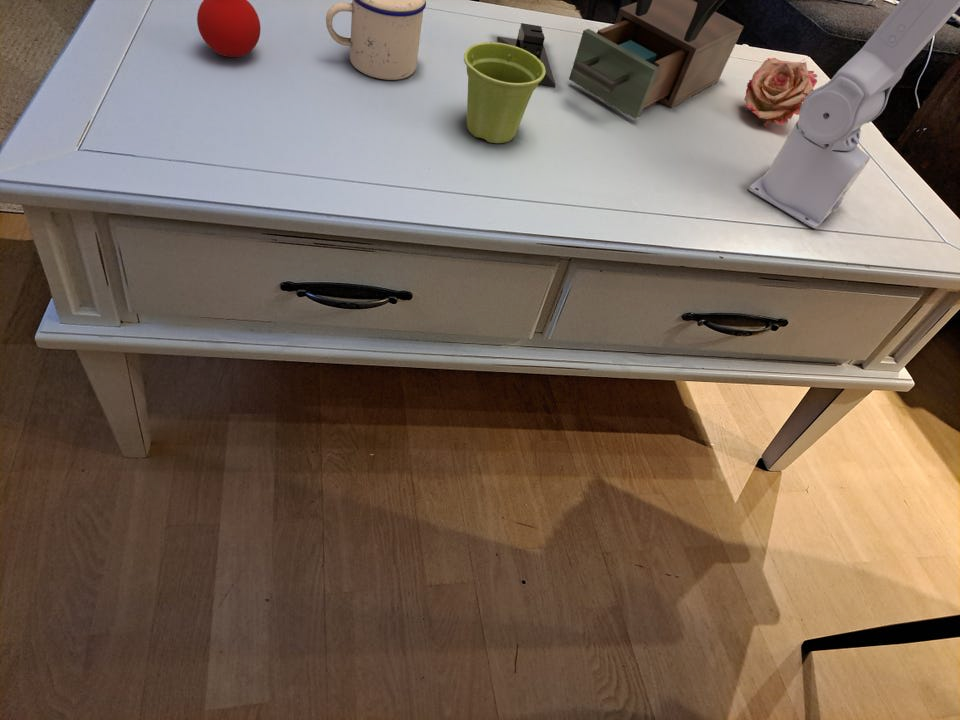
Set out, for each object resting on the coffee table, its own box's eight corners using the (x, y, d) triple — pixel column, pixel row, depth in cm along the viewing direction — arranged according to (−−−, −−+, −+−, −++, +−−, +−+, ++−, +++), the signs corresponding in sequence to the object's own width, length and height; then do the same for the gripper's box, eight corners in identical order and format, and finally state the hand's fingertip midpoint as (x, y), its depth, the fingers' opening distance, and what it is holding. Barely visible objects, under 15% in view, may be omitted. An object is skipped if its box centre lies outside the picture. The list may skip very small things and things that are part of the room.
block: (645, 85, 96) (657, 54, 92) (628, 93, 93) (640, 62, 90) (619, 70, 97) (630, 39, 94) (602, 78, 95) (613, 47, 91)
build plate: (555, 89, 95) (564, 56, 91) (503, 82, 93) (511, 48, 90) (542, 45, 102) (550, 13, 99) (494, 38, 101) (501, 5, 97)
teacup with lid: (409, 48, 94) (419, -44, 85) (425, 83, 89) (437, -11, 80) (320, 44, 90) (321, -53, 81) (330, 80, 85) (333, -19, 76)
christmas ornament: (210, 70, 81) (200, -19, 74) (193, 41, 85) (182, -47, 77) (269, 66, 84) (266, -20, 77) (251, 38, 88) (246, -47, 80)
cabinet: (670, 108, 97) (696, 48, 91) (600, 67, 101) (619, 7, 95) (717, 82, 105) (744, 26, 99) (650, 45, 110) (671, -11, 103)
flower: (758, 81, 104) (762, 43, 97) (820, 95, 101) (829, 58, 93) (731, 134, 103) (732, 100, 96) (792, 150, 100) (799, 117, 92)
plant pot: (472, 156, 80) (486, 86, 73) (440, 111, 85) (451, 42, 78) (540, 148, 84) (560, 81, 77) (506, 106, 89) (522, 40, 82)
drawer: (616, 129, 88) (635, 79, 83) (548, 88, 92) (562, 37, 87) (684, 92, 99) (704, 46, 94) (620, 56, 103) (637, 10, 98)
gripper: (641, -113, 79) (603, 8, 89) (750, -64, 74) (697, 58, 84) (671, -118, 83) (631, -2, 93) (776, -72, 78) (723, 46, 88)
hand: (664, 26), depth 89 cm, fingers open, 7 cm apart
